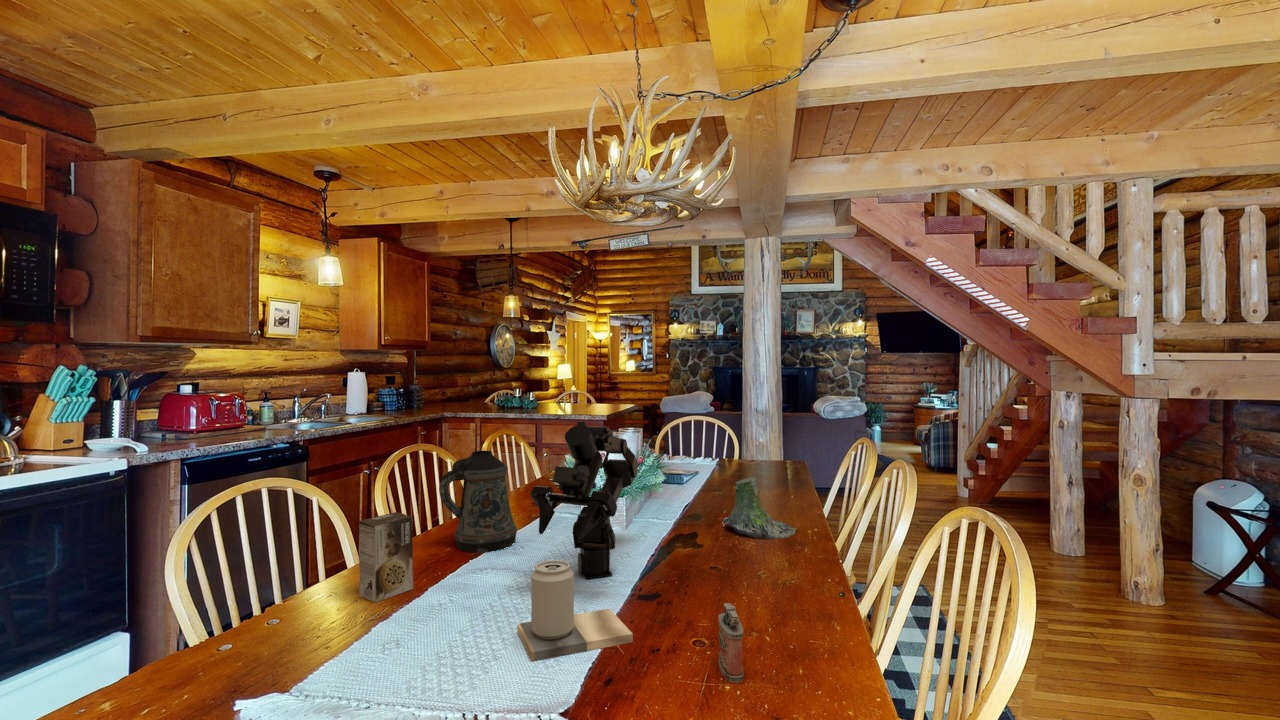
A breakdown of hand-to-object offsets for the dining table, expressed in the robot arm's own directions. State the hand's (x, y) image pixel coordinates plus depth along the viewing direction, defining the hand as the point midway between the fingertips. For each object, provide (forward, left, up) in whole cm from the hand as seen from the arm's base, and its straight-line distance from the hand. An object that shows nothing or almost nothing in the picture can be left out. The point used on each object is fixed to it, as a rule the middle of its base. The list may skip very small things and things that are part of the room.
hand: (559, 535), depth 129 cm
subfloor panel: (+2, +17, -14) cm, 22 cm away
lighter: (-18, +38, -14) cm, 44 cm away
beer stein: (+9, -46, -14) cm, 49 cm away
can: (+6, +17, -12) cm, 22 cm away
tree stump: (-67, -29, -14) cm, 75 cm away
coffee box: (+33, -19, -14) cm, 41 cm away
